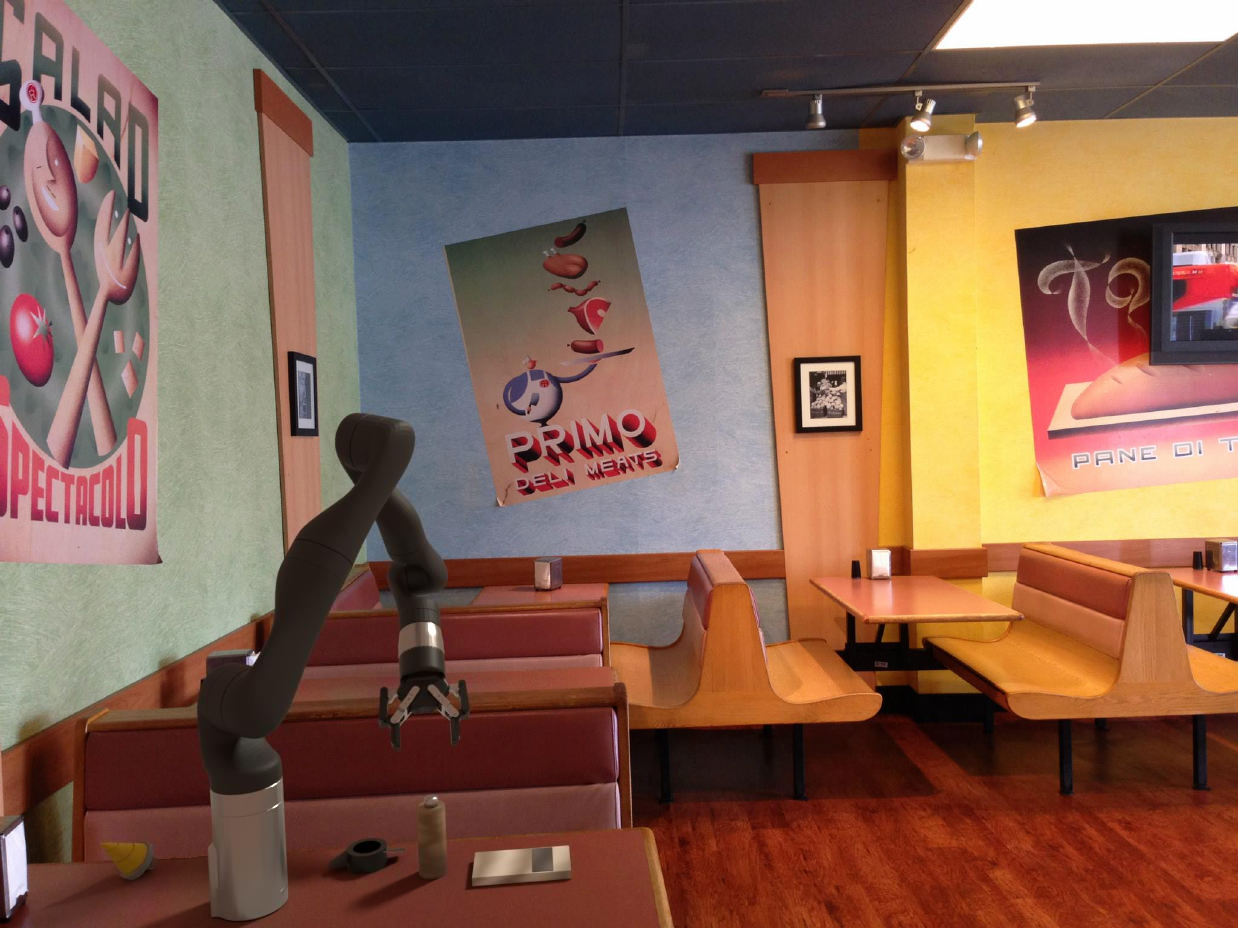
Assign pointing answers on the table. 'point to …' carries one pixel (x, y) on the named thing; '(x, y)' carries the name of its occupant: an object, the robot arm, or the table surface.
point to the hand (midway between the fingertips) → (426, 745)
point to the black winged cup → (364, 856)
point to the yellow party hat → (131, 857)
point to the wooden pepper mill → (431, 838)
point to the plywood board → (521, 865)
